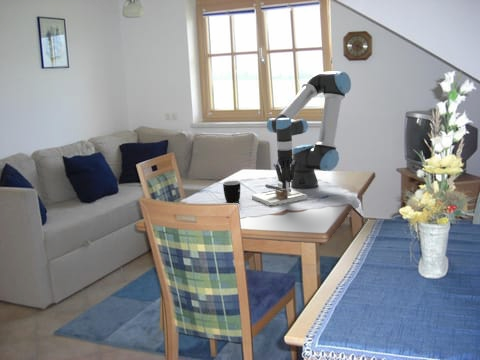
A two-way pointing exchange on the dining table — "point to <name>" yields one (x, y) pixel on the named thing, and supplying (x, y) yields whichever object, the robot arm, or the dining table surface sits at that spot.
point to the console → (272, 199)
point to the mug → (232, 191)
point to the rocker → (275, 187)
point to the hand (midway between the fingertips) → (286, 194)
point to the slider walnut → (282, 194)
